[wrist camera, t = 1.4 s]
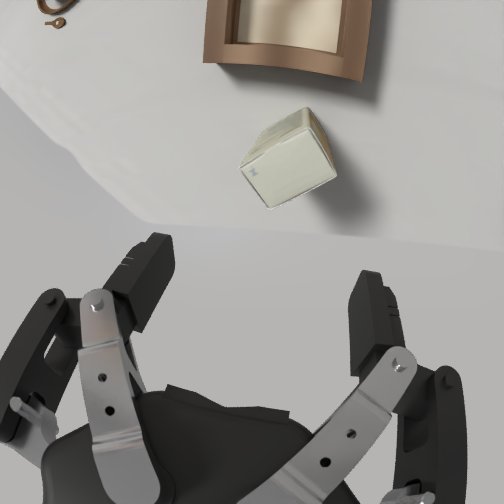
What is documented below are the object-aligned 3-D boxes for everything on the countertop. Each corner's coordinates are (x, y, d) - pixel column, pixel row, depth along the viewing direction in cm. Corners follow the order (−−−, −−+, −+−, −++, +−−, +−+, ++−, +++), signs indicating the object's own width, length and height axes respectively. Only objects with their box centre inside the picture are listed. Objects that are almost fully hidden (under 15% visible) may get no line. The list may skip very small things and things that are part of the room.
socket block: (367, -34, 14) (374, -46, 11) (355, 80, 23) (362, 82, 20) (226, -47, 16) (214, -59, 12) (215, 62, 25) (202, 63, 22)
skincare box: (281, 162, 31) (266, 214, 22) (260, 132, 29) (233, 170, 20) (330, 136, 28) (340, 178, 19) (309, 103, 26) (309, 126, 17)
